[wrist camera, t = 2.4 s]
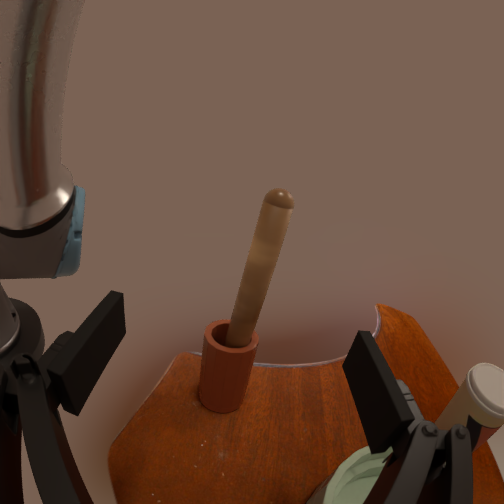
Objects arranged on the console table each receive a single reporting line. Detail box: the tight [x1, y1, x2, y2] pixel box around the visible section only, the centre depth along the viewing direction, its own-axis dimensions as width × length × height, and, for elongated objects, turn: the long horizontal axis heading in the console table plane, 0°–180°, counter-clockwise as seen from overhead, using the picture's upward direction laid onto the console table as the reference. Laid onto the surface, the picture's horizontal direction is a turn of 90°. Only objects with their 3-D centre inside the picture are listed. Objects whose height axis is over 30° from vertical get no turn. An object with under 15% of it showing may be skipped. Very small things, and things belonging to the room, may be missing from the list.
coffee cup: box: [434, 363, 504, 453], centre depth 20 cm, size 9×9×12 cm
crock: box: [199, 320, 258, 413], centre depth 29 cm, size 5×6×10 cm
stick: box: [224, 188, 294, 348], centre depth 25 cm, size 2×2×24 cm
